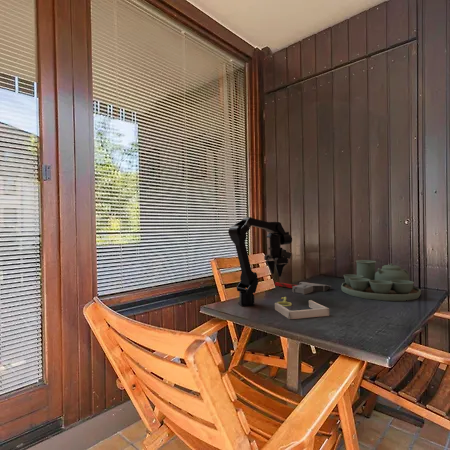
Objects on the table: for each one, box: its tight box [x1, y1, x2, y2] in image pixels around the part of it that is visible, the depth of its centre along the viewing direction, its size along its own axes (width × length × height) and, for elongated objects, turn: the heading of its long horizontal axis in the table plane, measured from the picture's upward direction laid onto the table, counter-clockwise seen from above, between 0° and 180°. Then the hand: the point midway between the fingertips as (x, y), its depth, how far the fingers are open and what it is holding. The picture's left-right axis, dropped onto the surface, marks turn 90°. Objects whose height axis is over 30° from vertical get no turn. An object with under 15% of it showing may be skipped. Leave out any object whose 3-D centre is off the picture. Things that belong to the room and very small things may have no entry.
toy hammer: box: [274, 281, 332, 295], centre depth 186 cm, size 24×4×30 cm
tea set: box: [340, 259, 422, 302], centre depth 173 cm, size 40×40×16 cm
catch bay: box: [274, 299, 330, 320], centre depth 136 cm, size 18×15×3 cm
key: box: [276, 296, 293, 307], centre depth 152 cm, size 7×12×2 cm, turn 4°
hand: (276, 275), depth 162 cm, fingers open, 9 cm apart
